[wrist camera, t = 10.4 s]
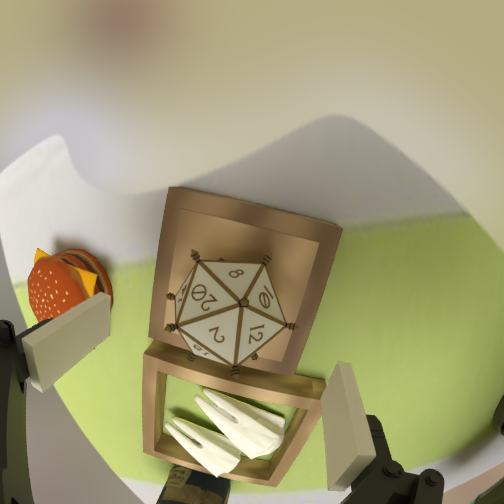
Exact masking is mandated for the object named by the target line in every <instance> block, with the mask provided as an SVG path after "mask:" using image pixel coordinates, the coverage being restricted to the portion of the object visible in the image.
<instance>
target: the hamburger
mask: <svg viewBox="0 0 504 504" xmlns="http://www.w3.org/2000/svg"><path fill="white" fill-rule="evenodd" d="M99 292H102V293H105V294H107V295H110V296H111V302H110V311H111V307H112V303H113V298H112V288H111V284H110V281H109V279H108V276H107V274H106V271H105V270H104V269H103V267H102V266H101V265H100V264H99V262H98V261H97V260H96V258H95V257H93V256H91V255H90V254H88V253H87V252H85V251H83V250H75V249H69V250H67V251H65V252H63V253H61V254H55V255H54V256H50V255H49V254H47V253H45V252H44V251H42V250H40V249H39V248H37V251H36V255H35V259H34V267H33V269H32V271H31V273H30V275H29V277H28V293H29V303H30V306H31V308H32V310H33V312H34V314H35V316H36V318H37V320H38V322H41V321H43V320H45V319H49V318H54V319H55V318H56V317H58V316H60V315H61V314H63V313H65V312H67V311H68V310H70V309H72V308H73V307H75V306H77V305H78V304H80V303H82V302H84V301H85V300H87V299H89V298H91V297H92V296H94V295H96V294H98V293H99ZM94 349H95V348H94Z"/></svg>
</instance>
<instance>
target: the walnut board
mask: <svg viewBox="0 0 504 504" xmlns="http://www.w3.org/2000/svg"><path fill="white" fill-rule="evenodd" d="M341 233H342V228H341V227H340V226H338V225H336V224H333V223H329V222H325V221H322V220H318V219H314V218H310V217H307V216H303V215H299V214H295V213H291V212H287V211H283V210H280V209H276V208H272V207H267V206H263V205H259V204H255V203H251V202H247V201H242V200H238V199H234V198H229V197H225V196H221V195H216V194H212V193H207V192H202V191H198V190H193V189H188V188H184V187H169V189H168V194H167V199H166V205H165V210H164V216H163V222H162V228H161V234H160V240H159V247H158V254H157V261H156V268H155V276H154V284H153V293H152V302H151V313H150V324H149V336H148V337H151V338H153V339H156V340H159V341H162V342H165V343H168V344H171V345H174V346H177V347H180V348H183V349H186V350H189V351H191V350H190V349H189V347H188V346H187V344H186V343H185V341H184V340H183V338H182V336H181V335H180V333H179V332H178V330H177V329H176V330H175V331H174V332H173V331H172V332H171V333H169V332H168V331H165V330H164V328H165V327H166V326H167V324H170V323H173V324H175V302H174V300H170V299H169V300H168V299H167V297H166V296H165V295H166V294H168V293H170V292H171V293H173V294H174V295H176V294H177V292H178V291H179V289H180V287H181V286H182V284H183V283H184V281H185V279H186V278H187V276H188V275H189V273H190V271H191V270H192V268H193V267H194V265H195V263H196V261H195V260H192V259H193V258H192V257H191V249H193V250H195V251H198V254H199V255H200V260H219V259H220V258H222V259H223V260H225V261H246V262H262V261H263V257H265V255H267V254H270V253H272V260H270V263H267V264H266V267H267V270H268V273H269V275H270V278H271V281H272V284H273V286H274V289H275V292H276V295H277V297H278V300H279V303H280V305H281V308H282V311H283V314H284V316H285V319H286V322H287V323H291V322H292V323H295V324H296V325H297V326H298V327H299V329H296V330H294V331H293V330H289V329H288V328H285V329H284V330H282V331H281V332H280V333H279V334H278V335H276V336H275V337H274V338H273V339H272V340H270V341H269V342H268V343H267V344H266V345H264V346H263V347H262V348H261V349H260V350H258V351H257V352H256V353H257V355H258V358H257V361H256V360H252V358H251V357H250V358H248V359H247V360H246V361H245V362H243V363H242V364H241V365H242V366H246V367H250V368H254V369H259V370H263V371H267V372H272V373H276V374H281V375H285V376H290V377H293V375H294V373H295V370H296V368H297V365H298V363H299V360H300V357H301V355H302V352H303V350H304V347H305V344H306V341H307V339H308V336H309V333H310V330H311V328H312V325H313V322H314V319H315V316H316V313H317V310H318V307H319V305H320V302H321V299H322V295H323V292H324V289H325V286H326V283H327V280H328V277H329V274H330V270H331V267H332V264H333V261H334V257H335V254H336V250H337V247H338V244H339V240H340V236H341Z"/></svg>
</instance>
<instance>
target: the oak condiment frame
mask: <svg viewBox="0 0 504 504" xmlns="http://www.w3.org/2000/svg"><path fill="white" fill-rule="evenodd" d="M189 354H192V352H191V351H189V350H186V349H183V348H180V347H177V346H174V345H171V344H168V343H165V342H162V341H159V340H156V339H155V340H154V341H153V343H152V344H151V345H150V346H149V347H148V349H147V350H146V351H145V352H144V354H143V381H142V427H143V452H144V453H147V454H150V455H152V456H155V457H158V458H160V459H163V460H166V461H169V462H172V463H175V464H178V465H181V466H184V467H187V468H190V469H194V470H197V471H201V472H204V473H208V474H212V473H211V472H210V471H208V470H207V469H206V468H205V467H204V466H203V465H202V464H200V463H199V462H198V461H197V460H196V459H195V458H194V457H193V456H192V455H191V454H190V453H189V452H188V451H187V450H186V449H185V448H184V447H183V446H182V445H181V444H180V443H179V442H178V441H177V440H176V439H175V438H174V437H172V436H169V435H166V434H163V417H164V402H165V390H166V379H167V374H168V375H171V376H174V377H177V378H180V379H183V380H186V381H189V382H193V383H196V384H199V385H202V386H206V387H209V388H213V389H216V390H220V391H223V392H227V393H231V394H235V395H239V396H243V397H247V398H251V399H256V400H260V401H265V402H269V403H274V404H279V405H284V406H290V407H295V408H298V409H297V411H296V413H295V415H294V417H293V419H292V421H291V423H290V425H289V427H288V429H287V431H286V433H285V435H284V438H283V441H282V443H281V445H280V446H279V447H278V448H277V450H276V452H275V454H274V456H273V458H272V459H271V461H265V460H259V459H254V458H253V459H250V458H249V457H244V456H240V458H241V459H240V461H239V463H238V464H237V465H236V467H235V468H234V469H233V470H231V471H230V472H229V473H222V474H221V475H219V476H220V477H224V478H228V479H233V480H238V481H243V482H248V483H253V484H259V485H265V486H272V487H277V486H278V484H279V483H280V482H281V480H282V479H283V477H284V476H285V474H286V473H287V471H288V470H289V468H290V467H291V465H292V464H293V462H294V460H295V459H296V457H297V456H298V454H299V453H300V451H301V449H302V448H303V446H304V444H305V443H306V441H307V439H308V438H309V436H310V434H311V433H312V431H313V429H314V427H315V426H316V424H317V422H318V420H319V419H320V417H321V415H322V409H321V400H320V398H321V396H322V394H323V392H324V390H325V388H326V382H325V380H323V379H317V378H311V377H306V376H301V375H296V374H294V375H293V377H290V376H285V375H281V374H276V373H272V372H267V371H263V370H259V369H254V368H250V367H246V366H242V365H240V366H238V369H239V371H240V372H239V373H240V376H239V378H238V380H236V379H235V378H234V377H233V376H231V375H232V372H231V371H232V367H229V366H226V365H223V364H220V363H217V362H213V361H210V360H207V359H204V358H202V357H199V356H195V359H194V360H193V362H188V363H187V357H188V356H189ZM212 475H213V474H212Z"/></svg>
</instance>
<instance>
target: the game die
mask: <svg viewBox="0 0 504 504" xmlns="http://www.w3.org/2000/svg"><path fill="white" fill-rule="evenodd" d="M191 257H192V258H193V259H192V260H195V261H196V263H195V265H194V267H193V268H192V270H191V271H190V273H189V275H188V276H187V278H186V279H185V281H184V283H183V284H182V286H181V287H180V289H179V291H178V292H177V294H176V295H174V294H173V293H171V292H170V293H168V294H166V295H165V296H166V297H167V299H168V300H169V299H170V300H174V302H175V324H173V323H170V324H167V326H166V327H165V328H164V330H165V331H168V332H169V333H171V332H172V331H173V332H174V331H175V330H176V329H177V330H178V332H179V333H180V335H181V336H182V338H183V340H184V341H185V343H186V344H187V346H188V347H189V349H190V350H191V352H192V354H189V356H188V357H187V363H188V362H193V360H194V359H195V356H199V357H202V358H204V359H207V360H210V361H213V362H217V363H220V364H223V365H226V366H229V367H232V371H231V372H232V375H231V376H233V377H234V378H235V379H236V380H238V378H239V376H240V373H239V372H240V371H239V369H238V366H240V365H241V364H242V363H243V362H245V361H246V360H247V359H248V358H250V357H251V358H252V360H256V361H257V358H258V355H257V353H256V352H257V351H258V350H260V349H261V348H262V347H263V346H264V345H266V344H267V343H268V342H269V341H270V340H272V339H273V338H274V337H275V336H276V335H278V334H279V333H280V332H281V331H282V330H284V329H285V328H288V329H289V330H293V331H294V330H296V329H299V327H298V326H297V325H296V324H295V323H292V322H291V323H287V322H286V319H285V316H284V314H283V311H282V308H281V305H280V303H279V300H278V297H277V295H276V292H275V289H274V286H273V284H272V281H271V278H270V275H269V273H268V270H267V267H266V264H267V263H270V260H272V253H270V254H267V255H265V257H263V261H262V262H246V261H225V260H223V259H222V258H220V259H219V260H200V255H199V254H198V251H195V250H193V249H191Z"/></svg>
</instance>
